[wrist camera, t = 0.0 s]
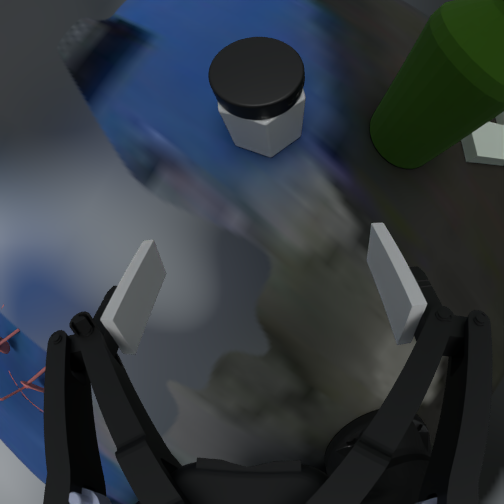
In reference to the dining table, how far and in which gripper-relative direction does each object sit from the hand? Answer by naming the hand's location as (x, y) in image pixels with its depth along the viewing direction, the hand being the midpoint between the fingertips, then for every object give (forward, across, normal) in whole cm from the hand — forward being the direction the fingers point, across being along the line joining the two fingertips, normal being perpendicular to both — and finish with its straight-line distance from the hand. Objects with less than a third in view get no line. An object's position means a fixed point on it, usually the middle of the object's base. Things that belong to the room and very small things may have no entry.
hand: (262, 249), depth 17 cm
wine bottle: (+20, -17, -2) cm, 27 cm away
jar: (+21, 0, -3) cm, 22 cm away
